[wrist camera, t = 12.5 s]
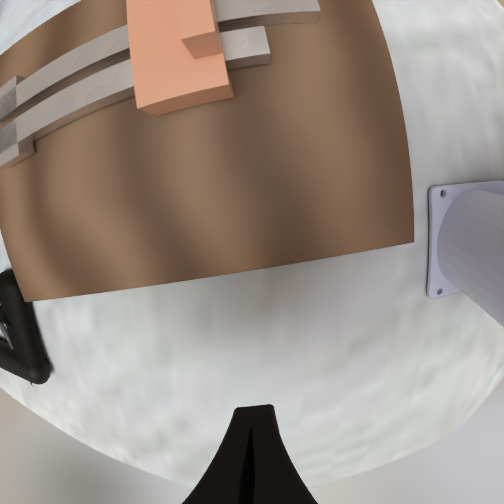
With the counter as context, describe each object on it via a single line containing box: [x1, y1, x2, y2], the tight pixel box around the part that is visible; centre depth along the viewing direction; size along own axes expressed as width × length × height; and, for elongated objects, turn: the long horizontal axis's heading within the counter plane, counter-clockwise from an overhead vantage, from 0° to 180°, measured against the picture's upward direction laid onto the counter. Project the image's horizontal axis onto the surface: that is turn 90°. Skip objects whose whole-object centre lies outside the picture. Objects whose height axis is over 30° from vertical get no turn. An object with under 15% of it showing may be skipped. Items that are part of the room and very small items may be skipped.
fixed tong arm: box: [0, 0, 321, 126], centre depth 11 cm, size 21×2×2 cm, turn 100°
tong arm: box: [0, 26, 270, 169], centre depth 12 cm, size 18×2×2 cm, turn 100°
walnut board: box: [0, 0, 414, 302], centre depth 14 cm, size 28×20×2 cm
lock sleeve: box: [126, 0, 234, 116], centre depth 10 cm, size 4×7×5 cm, turn 10°
